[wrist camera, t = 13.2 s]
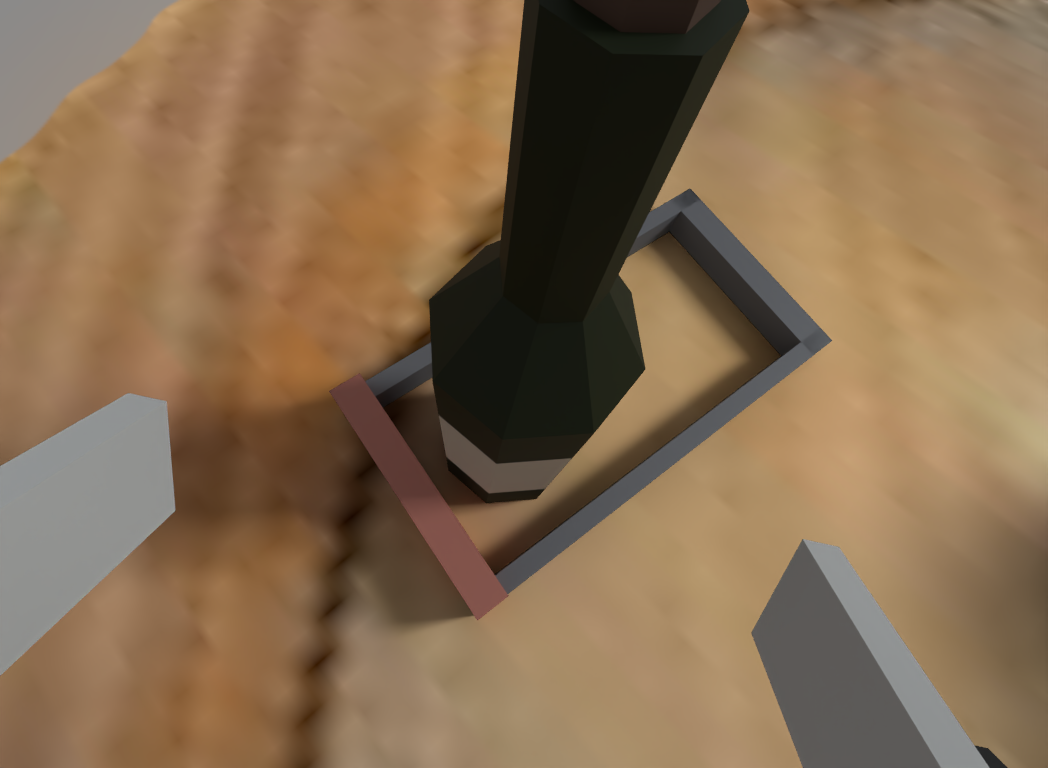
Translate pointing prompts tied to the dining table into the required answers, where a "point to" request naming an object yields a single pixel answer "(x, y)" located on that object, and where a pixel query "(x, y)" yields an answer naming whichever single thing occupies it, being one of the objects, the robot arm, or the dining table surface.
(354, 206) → the dining table surface
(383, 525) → the dining table surface
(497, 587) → the frame
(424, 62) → the dining table surface
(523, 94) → the wine bottle
